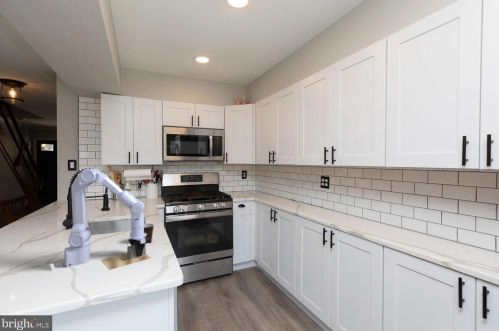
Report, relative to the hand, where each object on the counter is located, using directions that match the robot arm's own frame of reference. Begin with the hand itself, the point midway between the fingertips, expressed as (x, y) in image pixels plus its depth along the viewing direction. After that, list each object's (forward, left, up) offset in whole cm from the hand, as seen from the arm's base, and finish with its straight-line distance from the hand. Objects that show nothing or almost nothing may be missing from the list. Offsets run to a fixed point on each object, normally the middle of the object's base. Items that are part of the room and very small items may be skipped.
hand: (137, 254), depth 115 cm
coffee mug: (+11, +21, -2) cm, 24 cm away
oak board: (-5, 0, -2) cm, 5 cm away
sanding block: (0, 0, -1) cm, 1 cm away
